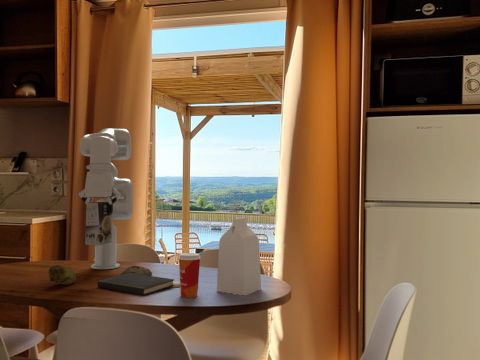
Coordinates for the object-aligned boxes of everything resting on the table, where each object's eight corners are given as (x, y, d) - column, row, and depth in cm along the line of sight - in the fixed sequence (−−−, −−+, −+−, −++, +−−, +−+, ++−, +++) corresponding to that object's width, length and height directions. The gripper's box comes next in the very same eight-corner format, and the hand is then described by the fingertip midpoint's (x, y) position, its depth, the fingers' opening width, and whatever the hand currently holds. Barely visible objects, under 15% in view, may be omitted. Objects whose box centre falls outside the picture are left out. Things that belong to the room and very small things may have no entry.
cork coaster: (166, 282, 163) (166, 281, 163) (187, 283, 163) (187, 281, 163) (163, 287, 155) (163, 286, 155) (184, 287, 155) (184, 286, 155)
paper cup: (178, 293, 147) (178, 252, 147) (200, 292, 147) (201, 252, 148) (176, 298, 139) (177, 256, 139) (200, 298, 140) (200, 256, 140)
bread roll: (155, 276, 178) (156, 264, 178) (141, 281, 166) (141, 269, 166) (128, 274, 182) (129, 262, 182) (112, 279, 170) (112, 267, 170)
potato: (84, 282, 162) (85, 261, 162) (56, 289, 151) (57, 267, 151) (69, 280, 166) (69, 260, 166) (40, 286, 154) (41, 265, 155)
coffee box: (100, 245, 157) (101, 202, 157) (84, 244, 159) (85, 202, 159) (112, 242, 166) (113, 201, 166) (97, 241, 168) (98, 201, 168)
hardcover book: (129, 278, 168) (129, 272, 168) (174, 285, 156) (174, 279, 156) (97, 287, 154) (97, 281, 154) (143, 295, 142) (143, 288, 142)
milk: (244, 295, 144) (244, 219, 145) (216, 291, 150) (217, 218, 151) (261, 289, 154) (261, 217, 155) (234, 285, 160) (235, 216, 161)
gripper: (73, 167, 159) (73, 215, 159) (120, 168, 159) (119, 215, 159) (81, 168, 166) (80, 213, 166) (125, 169, 166) (124, 214, 166)
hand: (99, 214), depth 163 cm, fingers closed on coffee box, 7 cm apart
